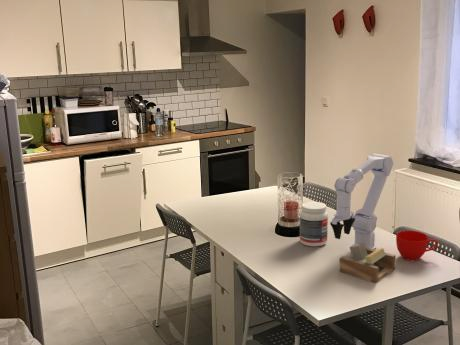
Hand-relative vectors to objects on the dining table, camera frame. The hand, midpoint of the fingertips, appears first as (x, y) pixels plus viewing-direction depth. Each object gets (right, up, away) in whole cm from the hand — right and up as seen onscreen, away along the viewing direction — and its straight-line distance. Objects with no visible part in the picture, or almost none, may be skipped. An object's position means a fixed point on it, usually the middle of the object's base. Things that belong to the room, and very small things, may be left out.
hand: (342, 236), depth 220 cm
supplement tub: (-9, -6, +21) cm, 24 cm away
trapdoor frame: (+8, -13, -9) cm, 18 cm away
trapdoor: (+8, -9, -10) cm, 16 cm away
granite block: (+6, -8, -8) cm, 13 cm away
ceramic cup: (+32, -10, +1) cm, 33 cm away
